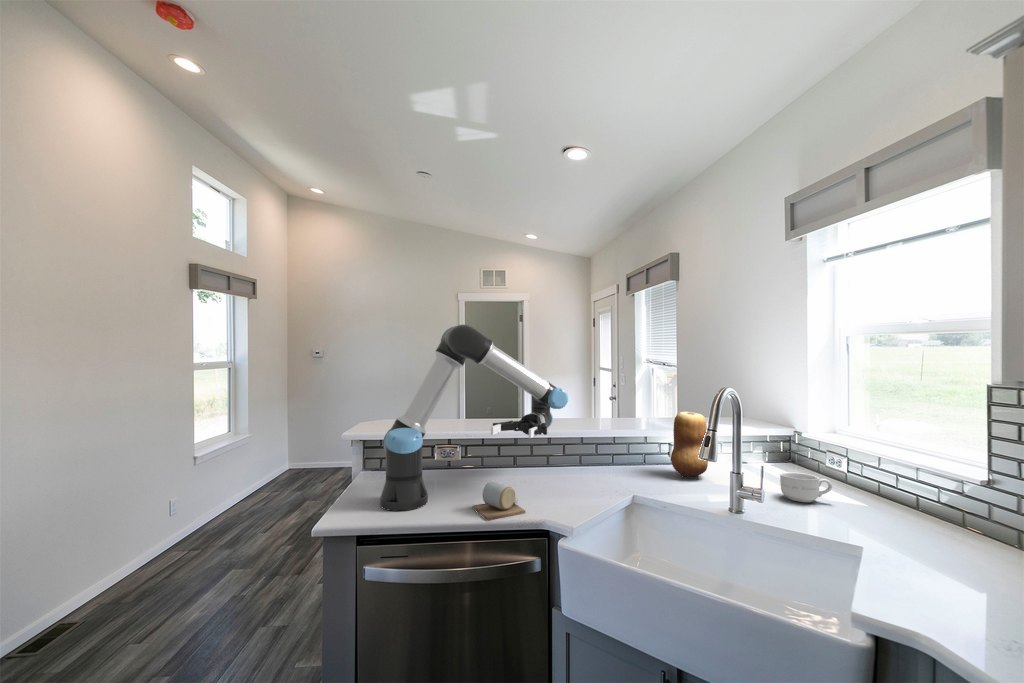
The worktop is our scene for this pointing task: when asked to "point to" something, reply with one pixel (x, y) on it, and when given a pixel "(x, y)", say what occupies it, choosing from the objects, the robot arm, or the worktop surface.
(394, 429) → the robot arm
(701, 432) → the butternut squash
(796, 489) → the teacup
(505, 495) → the ceramic mug
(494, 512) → the walnut trivet
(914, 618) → the worktop surface
